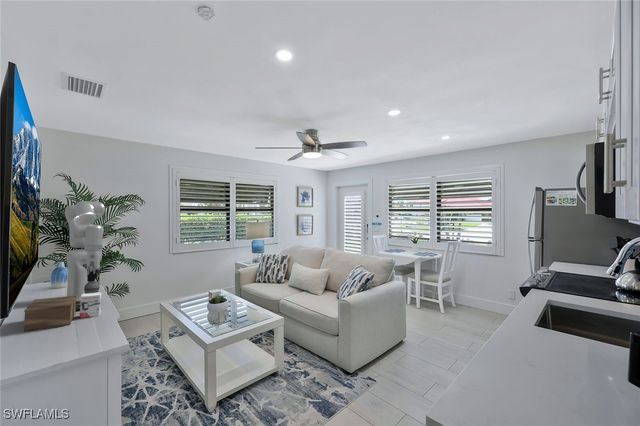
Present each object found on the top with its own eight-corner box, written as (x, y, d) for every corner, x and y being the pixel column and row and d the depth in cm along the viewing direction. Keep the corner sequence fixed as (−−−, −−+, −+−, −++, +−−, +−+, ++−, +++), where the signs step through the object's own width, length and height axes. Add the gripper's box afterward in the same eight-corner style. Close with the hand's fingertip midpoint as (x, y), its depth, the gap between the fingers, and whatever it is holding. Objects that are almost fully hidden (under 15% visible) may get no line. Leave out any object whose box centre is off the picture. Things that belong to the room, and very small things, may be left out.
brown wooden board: (34, 301, 144) (34, 299, 144) (76, 297, 153) (76, 295, 153) (24, 312, 129) (24, 310, 129) (71, 306, 139) (71, 304, 139)
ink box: (79, 318, 147) (80, 296, 147) (80, 315, 151) (81, 293, 151) (99, 315, 152) (100, 294, 152) (100, 313, 156) (101, 292, 156)
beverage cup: (86, 305, 166) (87, 272, 166) (100, 304, 169) (102, 271, 169) (80, 309, 159) (82, 275, 160) (96, 308, 162) (97, 274, 162)
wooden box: (34, 319, 144) (35, 301, 144) (75, 313, 153) (76, 297, 153) (23, 331, 129) (24, 312, 129) (69, 325, 138) (70, 307, 139)
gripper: (100, 249, 147) (99, 282, 146) (103, 246, 161) (102, 276, 161) (82, 250, 142) (80, 283, 142) (86, 246, 157) (85, 277, 156)
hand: (92, 279), depth 151 cm, fingers open, 9 cm apart
